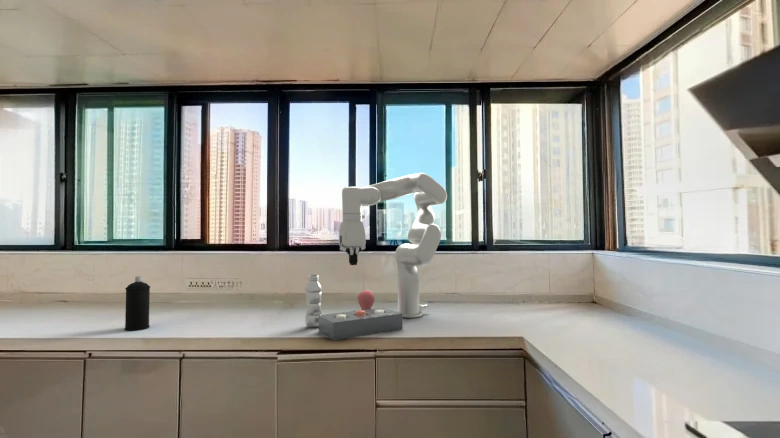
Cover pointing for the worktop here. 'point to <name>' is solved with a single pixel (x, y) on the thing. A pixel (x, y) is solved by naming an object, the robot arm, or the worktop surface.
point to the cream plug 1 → (340, 316)
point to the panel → (359, 323)
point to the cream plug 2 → (379, 311)
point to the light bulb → (366, 299)
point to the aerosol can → (137, 305)
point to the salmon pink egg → (360, 313)
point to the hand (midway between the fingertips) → (353, 264)
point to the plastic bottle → (313, 301)
